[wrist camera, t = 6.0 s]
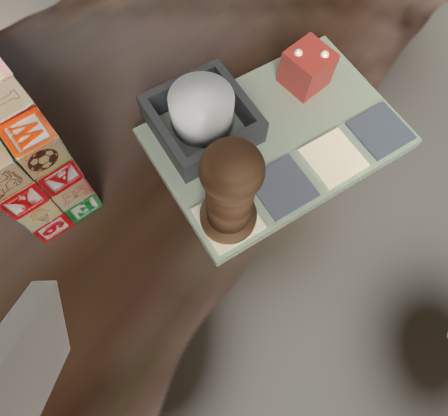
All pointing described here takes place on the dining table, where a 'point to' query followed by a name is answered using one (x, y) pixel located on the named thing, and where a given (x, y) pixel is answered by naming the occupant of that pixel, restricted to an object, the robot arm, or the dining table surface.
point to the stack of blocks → (37, 167)
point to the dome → (201, 108)
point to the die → (307, 67)
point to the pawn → (230, 188)
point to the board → (281, 144)
